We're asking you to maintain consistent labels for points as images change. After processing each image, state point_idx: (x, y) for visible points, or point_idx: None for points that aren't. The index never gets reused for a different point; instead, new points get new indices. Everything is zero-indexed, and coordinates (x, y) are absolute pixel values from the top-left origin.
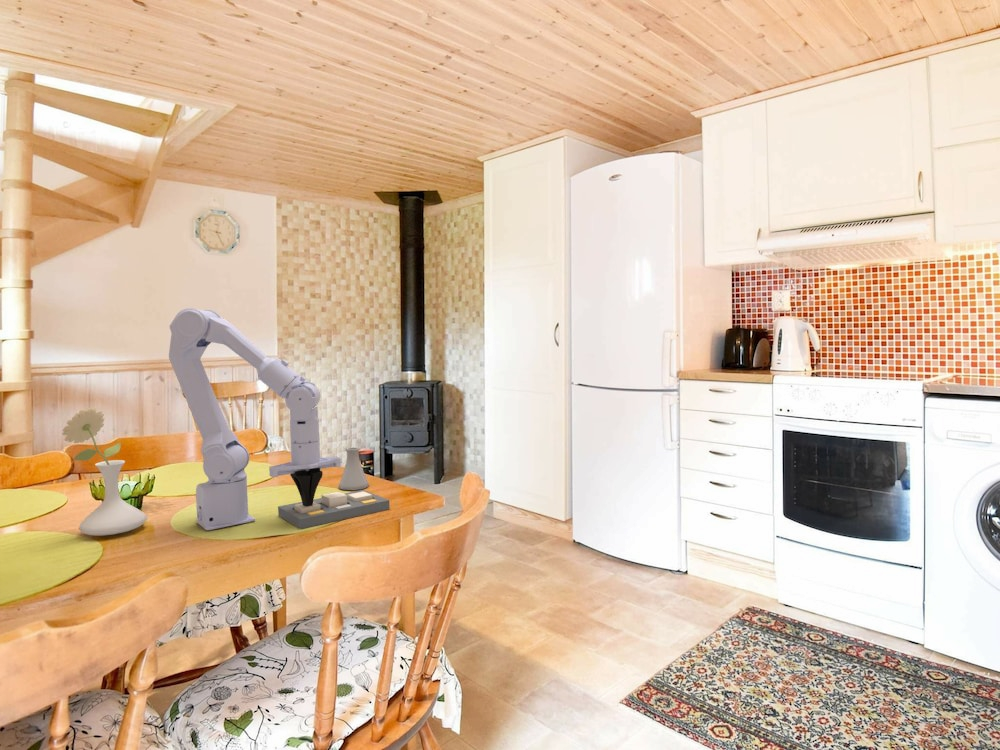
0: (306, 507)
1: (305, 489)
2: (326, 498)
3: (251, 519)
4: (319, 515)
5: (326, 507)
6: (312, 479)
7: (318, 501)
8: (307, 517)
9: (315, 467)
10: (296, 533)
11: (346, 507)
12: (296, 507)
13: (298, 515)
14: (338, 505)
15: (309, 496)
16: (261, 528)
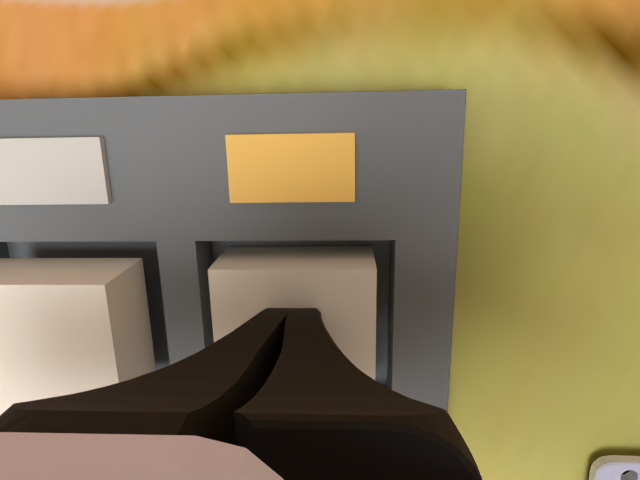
0: (327, 287)
1: (328, 362)
2: (118, 341)
3: (625, 467)
4: (290, 93)
5: (164, 264)
6: (209, 398)
7: None
8: (399, 91)
9: (23, 433)
10: (515, 9)
11: (27, 136)
12: (373, 374)
13: (429, 204)
14: (65, 259)
15: (285, 330)
16: (632, 297)
